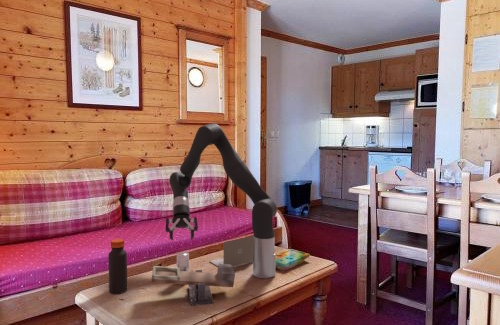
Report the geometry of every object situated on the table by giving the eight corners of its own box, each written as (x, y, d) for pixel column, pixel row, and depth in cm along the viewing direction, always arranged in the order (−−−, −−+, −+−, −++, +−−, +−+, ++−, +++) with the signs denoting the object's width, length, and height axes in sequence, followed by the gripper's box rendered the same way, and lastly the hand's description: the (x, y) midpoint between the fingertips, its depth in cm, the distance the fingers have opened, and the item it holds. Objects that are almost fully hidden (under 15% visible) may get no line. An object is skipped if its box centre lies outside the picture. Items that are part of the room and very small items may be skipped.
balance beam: (228, 277, 150) (230, 264, 150) (233, 287, 141) (235, 273, 140) (152, 272, 144) (154, 258, 143) (151, 282, 134) (153, 268, 134)
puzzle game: (265, 256, 176) (290, 247, 191) (265, 266, 176) (289, 256, 191) (285, 262, 168) (309, 252, 183) (285, 272, 169) (309, 261, 184)
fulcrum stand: (208, 286, 152) (208, 268, 151) (213, 303, 136) (213, 284, 136) (188, 287, 150) (188, 270, 150) (190, 305, 135) (190, 286, 134)
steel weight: (188, 279, 159) (188, 251, 158) (189, 284, 154) (189, 255, 153) (176, 280, 158) (176, 252, 157) (176, 285, 153) (176, 256, 152)
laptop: (239, 255, 191) (239, 230, 190) (254, 262, 181) (255, 235, 180) (209, 262, 180) (209, 235, 179) (223, 270, 170) (223, 242, 169)
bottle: (114, 296, 142) (113, 244, 140) (105, 291, 146) (104, 240, 145) (130, 290, 147) (130, 240, 145) (121, 285, 151) (120, 237, 150)
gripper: (165, 204, 171) (165, 235, 161) (196, 203, 174) (198, 234, 164) (165, 213, 177) (165, 244, 166) (196, 212, 180) (197, 242, 169)
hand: (182, 239), depth 165 cm, fingers open, 8 cm apart
